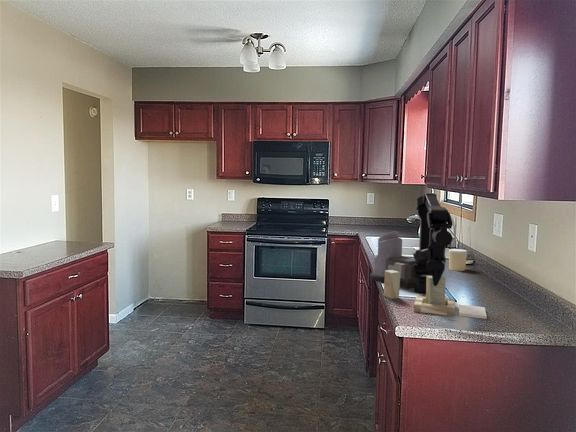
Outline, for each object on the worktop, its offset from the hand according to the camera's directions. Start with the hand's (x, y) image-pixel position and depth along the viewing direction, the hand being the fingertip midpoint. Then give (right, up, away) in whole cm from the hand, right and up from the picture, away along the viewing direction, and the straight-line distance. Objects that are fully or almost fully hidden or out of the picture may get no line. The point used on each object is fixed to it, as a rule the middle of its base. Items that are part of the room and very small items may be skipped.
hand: (435, 284), depth 167 cm
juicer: (-5, -6, +44) cm, 44 cm away
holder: (0, -9, +1) cm, 9 cm away
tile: (+12, -10, -4) cm, 16 cm away
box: (-13, -8, +16) cm, 22 cm away
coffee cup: (+35, -5, +73) cm, 81 cm away
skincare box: (0, -10, +1) cm, 10 cm away
